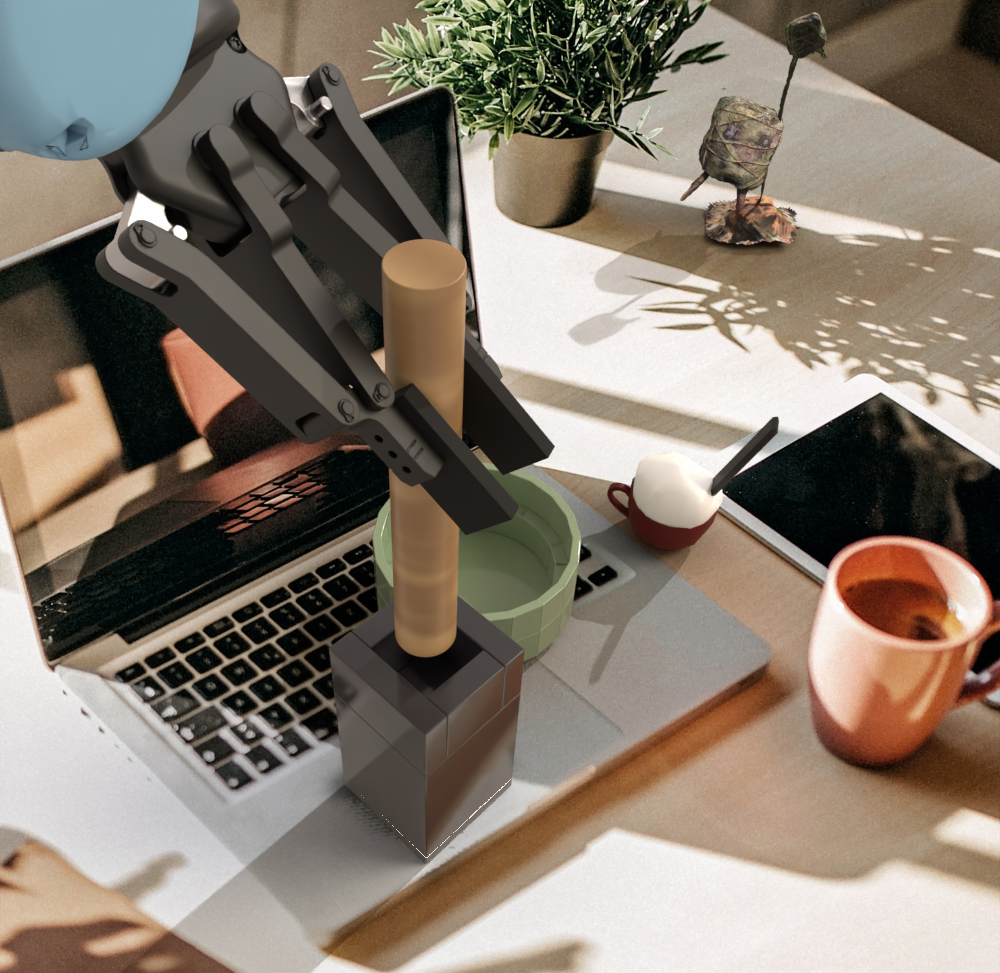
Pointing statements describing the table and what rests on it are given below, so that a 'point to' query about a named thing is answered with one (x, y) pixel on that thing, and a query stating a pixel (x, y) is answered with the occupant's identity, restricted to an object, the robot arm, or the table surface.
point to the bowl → (509, 564)
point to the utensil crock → (427, 724)
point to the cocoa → (680, 494)
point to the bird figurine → (752, 153)
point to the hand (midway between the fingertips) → (510, 489)
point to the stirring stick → (439, 377)
